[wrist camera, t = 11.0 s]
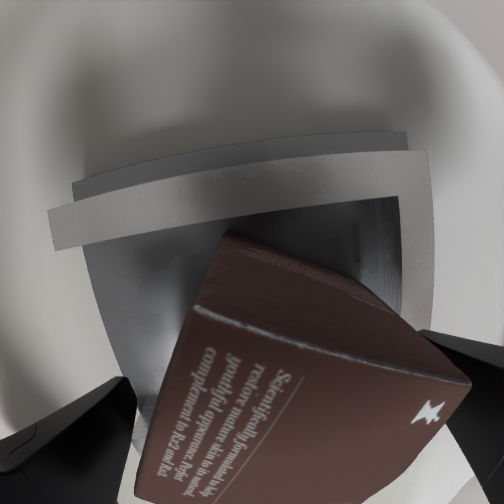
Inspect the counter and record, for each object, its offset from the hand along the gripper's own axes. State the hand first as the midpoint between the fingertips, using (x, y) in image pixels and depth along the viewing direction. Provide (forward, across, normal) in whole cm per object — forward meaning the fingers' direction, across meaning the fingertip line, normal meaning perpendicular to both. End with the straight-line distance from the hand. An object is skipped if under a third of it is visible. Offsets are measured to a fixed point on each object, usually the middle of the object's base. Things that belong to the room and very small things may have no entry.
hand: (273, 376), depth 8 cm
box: (+4, 0, 0) cm, 4 cm away
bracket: (+5, 0, 0) cm, 5 cm away
